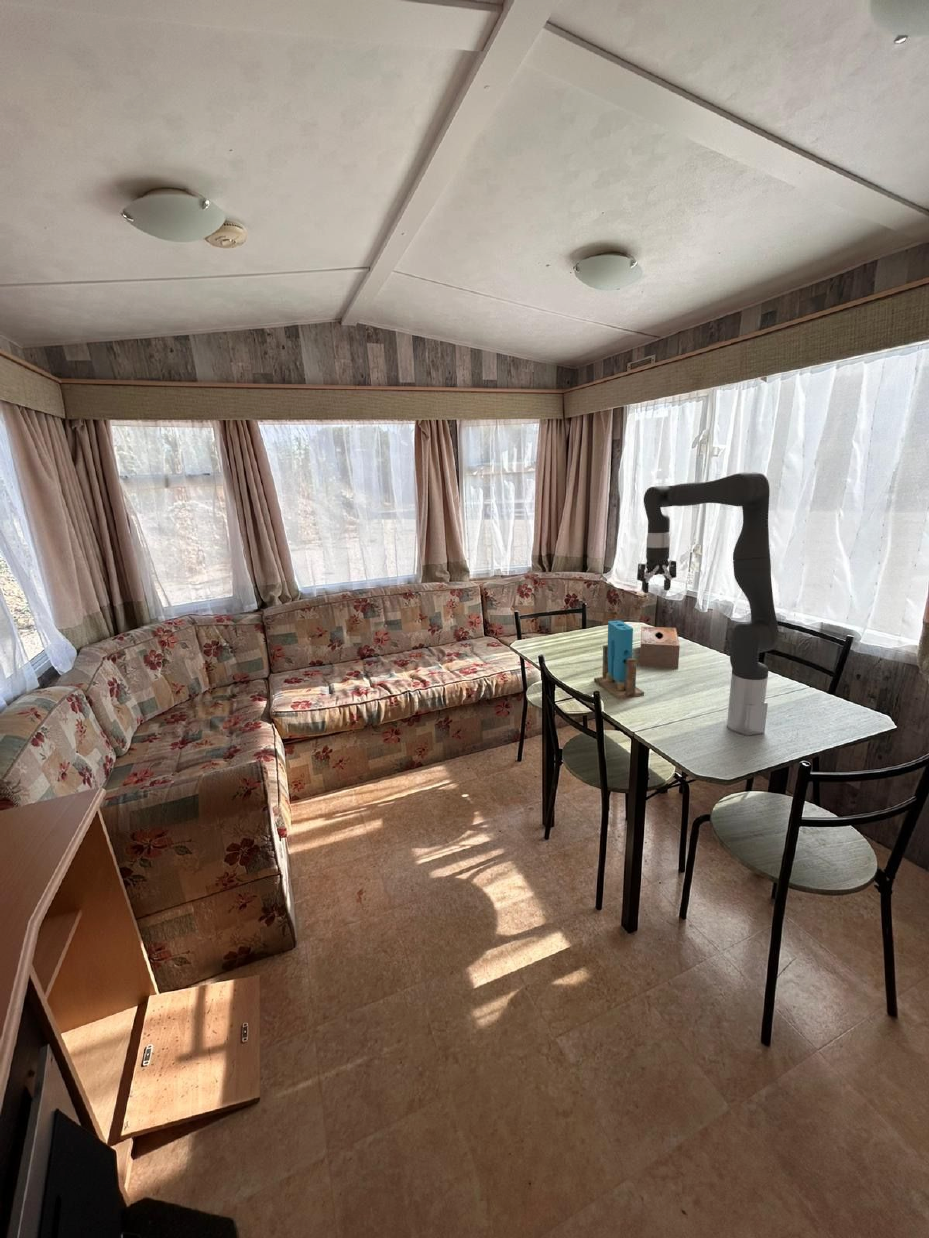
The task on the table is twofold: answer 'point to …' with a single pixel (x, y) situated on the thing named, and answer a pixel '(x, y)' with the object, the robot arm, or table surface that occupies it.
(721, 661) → the table surface
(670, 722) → the table surface
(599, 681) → the peg stand
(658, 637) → the tissue box cover
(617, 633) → the block
